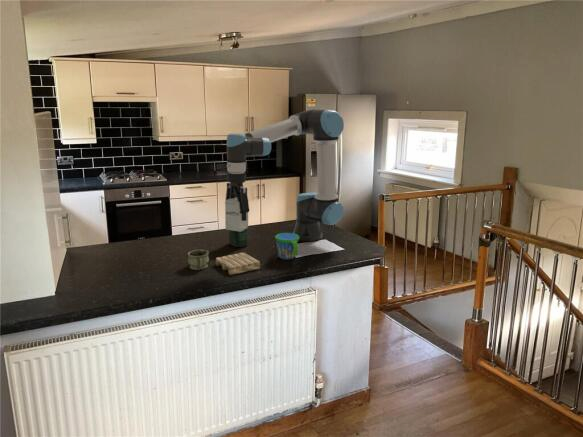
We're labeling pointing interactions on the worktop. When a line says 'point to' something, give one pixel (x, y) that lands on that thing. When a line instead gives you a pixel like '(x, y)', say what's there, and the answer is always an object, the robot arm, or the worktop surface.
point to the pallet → (238, 263)
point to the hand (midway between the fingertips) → (237, 224)
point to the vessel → (198, 259)
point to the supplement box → (233, 215)
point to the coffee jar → (238, 238)
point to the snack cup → (287, 245)
